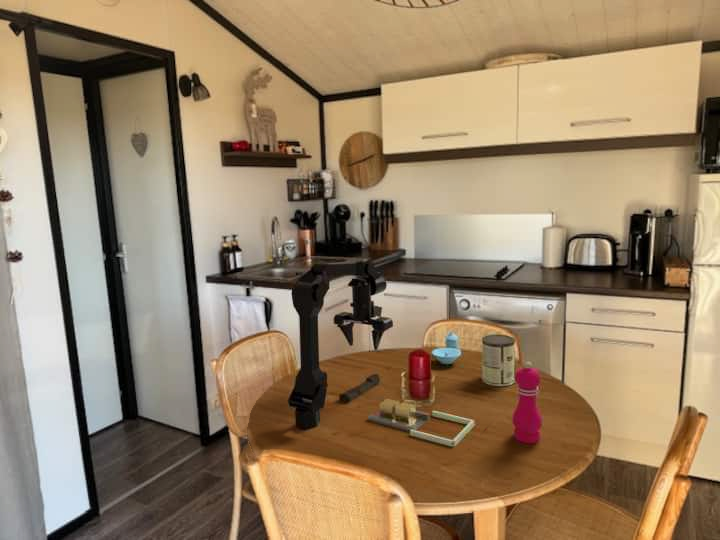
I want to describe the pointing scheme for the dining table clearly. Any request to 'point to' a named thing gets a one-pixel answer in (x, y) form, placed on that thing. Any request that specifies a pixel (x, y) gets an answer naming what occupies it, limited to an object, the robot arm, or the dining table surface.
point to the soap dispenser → (448, 350)
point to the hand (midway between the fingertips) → (363, 347)
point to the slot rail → (420, 420)
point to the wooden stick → (360, 389)
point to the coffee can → (498, 360)
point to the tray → (445, 441)
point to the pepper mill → (527, 405)
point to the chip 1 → (388, 408)
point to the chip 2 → (405, 413)
